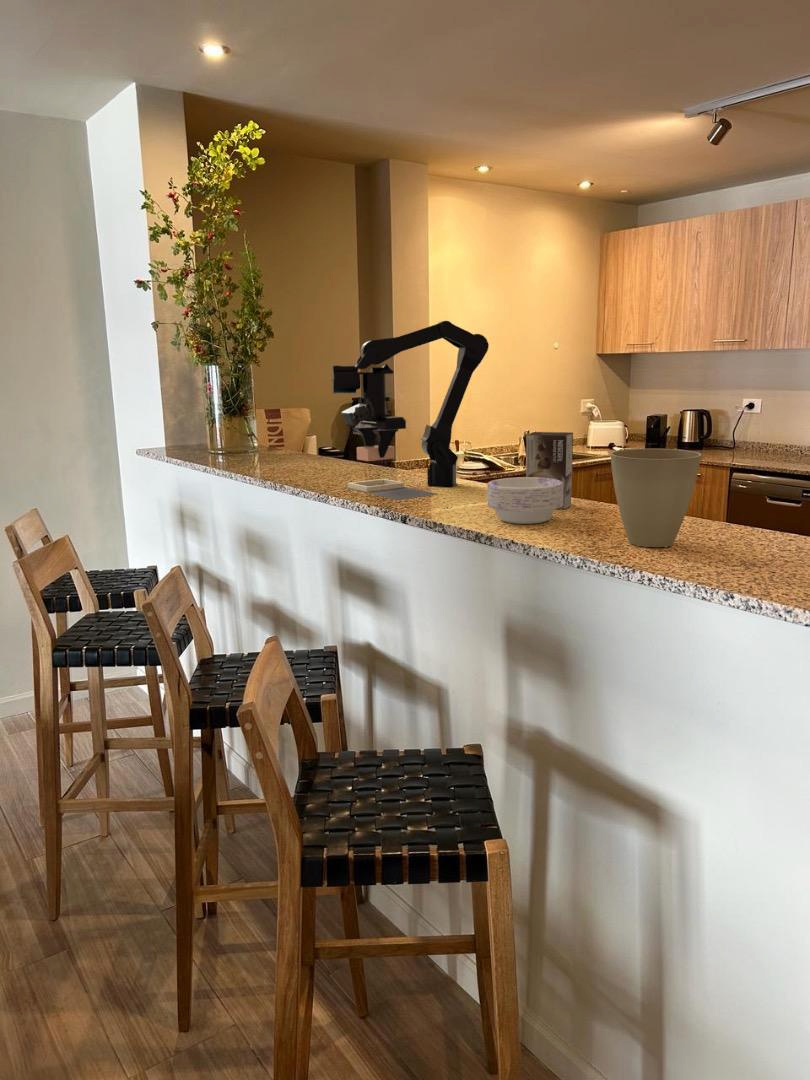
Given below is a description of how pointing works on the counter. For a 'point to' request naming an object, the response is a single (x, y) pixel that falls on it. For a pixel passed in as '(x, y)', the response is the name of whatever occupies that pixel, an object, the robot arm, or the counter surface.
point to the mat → (388, 489)
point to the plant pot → (653, 492)
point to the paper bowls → (525, 499)
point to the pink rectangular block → (374, 453)
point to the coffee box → (551, 459)
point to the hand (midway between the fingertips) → (375, 456)
